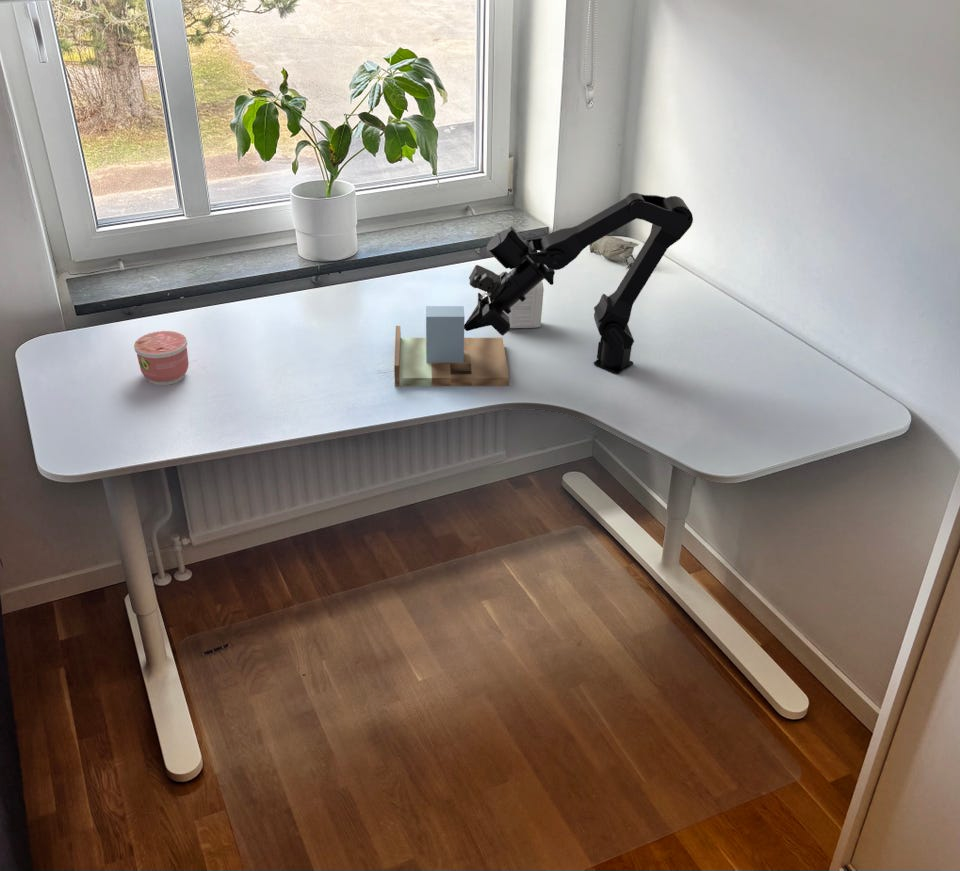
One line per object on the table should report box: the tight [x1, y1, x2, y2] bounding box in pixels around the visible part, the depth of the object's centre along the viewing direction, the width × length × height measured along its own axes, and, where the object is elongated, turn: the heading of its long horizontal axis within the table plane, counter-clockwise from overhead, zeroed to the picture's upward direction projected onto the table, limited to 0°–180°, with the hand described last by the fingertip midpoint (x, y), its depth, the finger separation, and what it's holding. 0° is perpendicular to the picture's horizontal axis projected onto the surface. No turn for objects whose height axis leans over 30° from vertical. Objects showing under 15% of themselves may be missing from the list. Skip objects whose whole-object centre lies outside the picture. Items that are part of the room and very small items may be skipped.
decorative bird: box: [589, 235, 640, 271], centre depth 257 cm, size 5×16×7 cm, turn 43°
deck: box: [393, 325, 510, 387], centre depth 207 cm, size 24×18×5 cm
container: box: [133, 330, 190, 386], centre depth 199 cm, size 10×10×8 cm
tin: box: [425, 305, 465, 363], centre depth 204 cm, size 8×5×11 cm, turn 93°
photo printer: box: [503, 280, 545, 329], centre depth 222 cm, size 10×4×12 cm, turn 98°
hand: (464, 328), depth 203 cm, fingers closed
